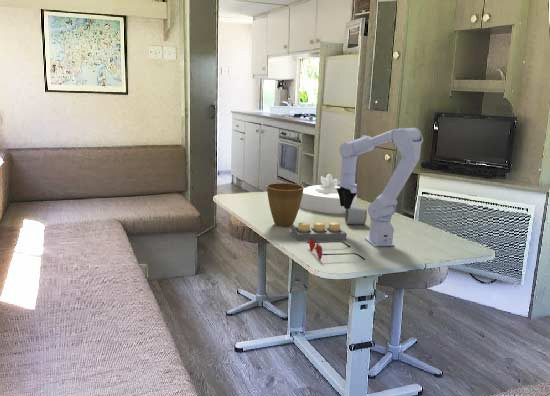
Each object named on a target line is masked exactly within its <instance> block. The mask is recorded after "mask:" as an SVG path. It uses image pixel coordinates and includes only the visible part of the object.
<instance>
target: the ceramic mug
mask: <svg viewBox="0 0 550 396" xmlns="http://www.w3.org/2000/svg"><path fill="white" fill-rule="evenodd" d="M367 214H368V210H367V209H366V208H364V207H361V206H356V207H354V206H351V207H350V209H346V212H345V213H344V223H345V224H346V225H364V224H366V222H367V217H368V215H367Z"/></svg>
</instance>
